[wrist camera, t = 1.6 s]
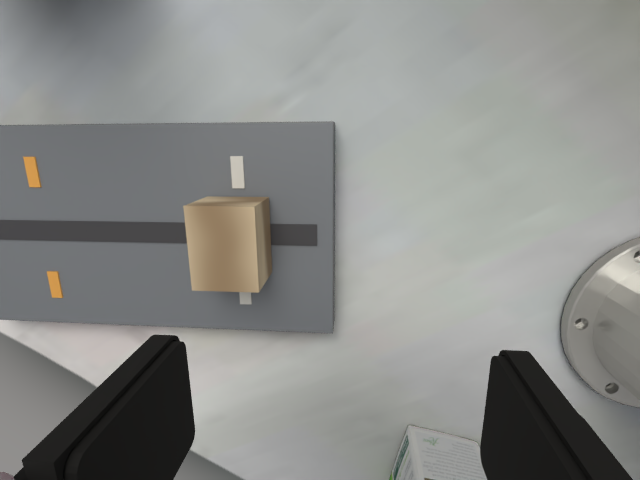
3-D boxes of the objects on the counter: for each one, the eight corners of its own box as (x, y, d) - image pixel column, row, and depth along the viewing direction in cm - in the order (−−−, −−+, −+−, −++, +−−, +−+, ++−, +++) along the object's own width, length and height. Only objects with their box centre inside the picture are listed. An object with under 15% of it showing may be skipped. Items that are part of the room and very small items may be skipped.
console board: (334, 122, 25) (332, 121, 23) (334, 320, 28) (332, 334, 26) (-31, 126, 27) (-62, 126, 25) (12, 307, 31) (-12, 319, 29)
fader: (268, 196, 24) (254, 206, 21) (272, 271, 25) (258, 292, 22) (207, 196, 24) (183, 206, 21) (213, 270, 26) (191, 290, 22)
